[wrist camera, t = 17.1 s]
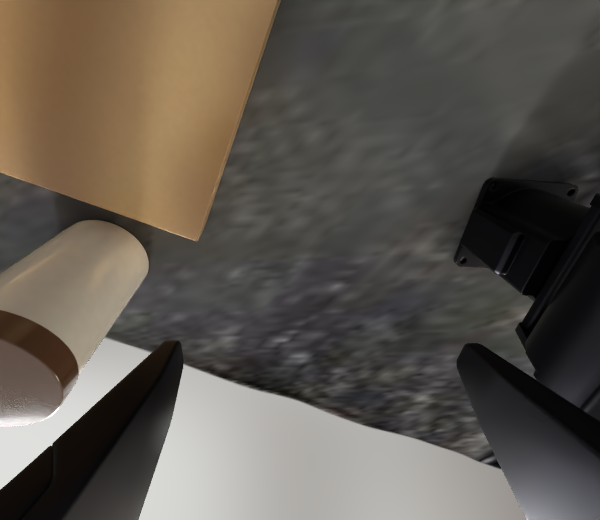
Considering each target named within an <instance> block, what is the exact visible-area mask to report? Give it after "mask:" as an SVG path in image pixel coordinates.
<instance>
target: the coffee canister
mask: <svg viewBox="0 0 600 520" xmlns="http://www.w3.org/2000/svg"><path fill="white" fill-rule="evenodd" d="M148 269H149V261H148V257H147V254H146V251H145V249H144V248H143V246H142V245H141V243H140V242H139V241H138V240H137V239H136V238H135V237H134V236H133V235H132V234H131V233H129V232H128V231H127V230H125V229H123V228H121V227H120V226H117V225H115V224H112V223H109V222H105V221H100V220H85V221H80V222H77V223H75V224H73V225H71V226H69V227H68V228H66V229H65V230H63V231H62V232H60V233H59V234H57V235H56V236H54V237H53V238H51V239H50V240H48V241H47V242H45V243H44V244H42V245H41V246H39V247H38V248H36V249H35V250H34V251H32V252H31V253H29V254H28V255H26V256H25V257H23V258H22V259H20V260H19V261H17V262H16V263H14V264H13V265H11V266H10V267H8V268H7V269H5V270H4V271H2V272H1V273H0V426H5V427H9V426H23V425H29V424H33V423H37V422H40V421H42V420H45V419H47V418H48V417H50V416H51V415H53V414H54V413H55V412H56V411H57V410H58V409H59V408H60V406H61V405H62V403H63V402H64V400H65V399H66V397H67V396H68V394H69V393H70V391H71V390H72V388H73V387H74V385H75V384H76V382H77V380H78V376H79V374H80V373H81V371H82V369H83V368H84V367H85V365H86V364H87V362H88V361H89V359H90V358H91V356H92V355H93V354H94V352H95V351H96V349H97V348H98V346H99V345H100V343H101V342H102V340H103V339H104V338H105V336H106V335H107V333H108V332H109V330H110V329H111V327H112V326H113V324H114V323H115V321H116V320H117V319H118V317H119V316H120V314H121V313H122V311H123V310H124V308H125V307H126V305H127V304H128V302H129V301H130V300H131V298H132V297H133V295H134V294H135V292H136V291H137V289H138V288H139V286H140V285H141V283H142V282H143V281H144V279H145V278H146V276H147V273H148Z"/></svg>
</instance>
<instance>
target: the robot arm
mask: <svg viewBox="0 0 600 520" xmlns="http://www.w3.org/2000/svg"><path fill="white" fill-rule="evenodd" d="M492 184H494V186H493V188H491V189H490V187H491V185H492ZM568 191H569V192H568ZM578 191H579V188H578V186H576V185H573V184H570V183H559V182H546V181H532V180H519V179H506V178H489V179H487V180H486V181H485V183H484V184H483V187H482V189H481V192H480V194H479V197H478V199H477V202H476V204H475V207H474V209H473V211H472V214H471V216H470V219H469V221H468V224H467V226H466V229H465V231H464V234H463V236H462V239H461V241H460V245H459V247H458V250H457V252H456V255H455V257H454V262H455V263H456V264H457V265H458V266H460V267H482V268H489V269H490V270H492V271H493V272H494V273H495V274H498V275H500V276H501V277H502V278H503V279H504V280H506V281H507V282H508V283H509V284H510V285H512V286H513V287H514V288H515V289H516V290H518V291H519V292H520V293H521V294H522V295H527V296H528V297H529V298H531V299H532V300H533V301H534V303H533V305H532V306H531V308H530V310H529V311H528V313H527V315H526V316H525V318H524V320H523V321H522V322H520V323H519V324H518V326H517V328H516V329H515V331H516V333H517V335H518V337H519V339H520V340H521V342H522V344H523V346H524V348H525V350H526V354H527V356H528V358H529V359H530V361H531V363H532V365H533V366H534V368H535V372H534V376H535V378H536V379H537V380H535V379H534V378H532V377H531V376H529V375H527V374H526V373H524V372H523V371H521V370H520V369H518V368H517V367H515V366H514V365H512V364H510V363H509V362H507V361H506V360H504V359H503V358H501V357H500V356H498V355H497V354H495V353H493V352H492V351H490V350H489V349H487V348H486V347H484V346H483V345H481V344H478V343H467V344H465V345H464V347H463V349H462V351H461V353H460V355H459V357H458V359H457V369H458V371H459V374H460V377H461V379H462V382H463V385H464V387H465V390H466V393H467V395H468V398H469V400H470V403H471V406H472V408H473V411H474V413H475V415H476V417H477V420H478V422H479V424H480V426H481V428H482V430H483V432H484V434H485V436H486V438H487V440H488V442H489V444H490V446H491V448H492V450H493V452H494V454H495V456H496V458H497V460H498V463H499V465H500V467H501V469H502V471H503V472H504V475H505V477H506V479H507V481H508V483H509V485H510V487H511V489H512V491H513V493H514V495H515V497H516V499H517V501H518V503H519V505H520V507H521V509H522V511H523V514H524V516H525V517H526V520H600V193H596V195H595V196H594V198H593V200H592V201H591V203H590V205H592V206H591V208H588V207H585V206H583V205H580V204H577V203H575V202H573V200H574V198H575V197H576V195H577V193H578ZM567 192H568V193H567ZM462 258H464V259H463V260H462V261H460V260H461V259H462ZM182 369H183V354H182V347H181V343H180V341H165V342H163V343H162V344H161V345H160V346H159V347H158V348H156V349H155V350H154V351H153V352H152V353H151V354H150V355H149V356H148V357H147V358H146V359H144V360H143V361H142V362H141V363H140V364H139V365H138V366H137V367H136V368H135V369H133V370H132V371H131V372H130V373H129V374H128V375H127V376H126V377H125V378H124V379H123V380H121V381H120V382H119V383H118V384H117V385H116V386H115V387H114V388H113V389H112V390H111V391H109V392H108V393H107V394H106V395H105V396H104V397H103V398H102V399H101V400H100V401H98V402H97V403H96V404H95V405H94V406H93V407H92V408H91V409H90V410H89V411H88V412H87V413H85V414H84V415H83V416H82V417H81V418H80V419H79V420H78V421H77V422H75V423H74V424H73V425H72V426H71V427H70V428H69V429H68V430H67V431H66V432H65V433H63V434H62V435H61V436H60V437H59V438H58V439H57V440H56V441H55V442H54V443H53V445H52V446H50V447H48V448H47V449H46V450H45V451H44V452H43V453H42V454H40V455H39V456H38V457H37V458H36V459H35V460H34V461H33V462H32V463H30V464H29V465H28V466H27V467H26V468H25V469H24V470H23V471H21V472H20V473H19V474H18V475H17V476H16V477H15V478H13V479H12V480H11V481H10V482H9V483H8V484H7V485H5V486H4V487H3V488H2V489H1V490H0V520H138V519H139V516H140V513H141V510H142V507H143V504H144V501H145V498H146V495H147V492H148V489H149V486H150V483H151V480H152V477H153V474H154V471H155V468H156V465H157V462H158V459H159V456H160V453H161V450H162V447H163V444H164V441H165V438H166V435H167V432H168V429H169V426H170V423H171V419H172V416H173V411H174V406H175V402H176V397H177V393H178V388H179V384H180V379H181V374H182Z"/></svg>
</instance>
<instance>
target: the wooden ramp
mask: <svg viewBox="0 0 600 520" xmlns="http://www.w3.org/2000/svg"><path fill="white" fill-rule="evenodd" d="M280 2H281V0H0V172H1V173H4V174H7V175H10V176H13V177H15V178H18V179H21V180H24V181H27V182H30V183H32V184H35V185H38V186H41V187H44V188H47V189H50V190H52V191H55V192H58V193H61V194H64V195H67V196H69V197H72V198H75V199H78V200H81V201H84V202H86V203H89V204H92V205H95V206H98V207H101V208H103V209H106V210H109V211H112V212H115V213H118V214H121V215H123V216H126V217H129V218H132V219H135V220H138V221H140V222H143V223H146V224H149V225H152V226H155V227H157V228H160V229H163V230H166V231H169V232H172V233H174V234H177V235H180V236H183V237H186V238H189V239H192V240H194V241H198V239H199V237H200V235H201V233H202V231H203V229H204V227H205V224H206V221H207V218H208V215H209V212H210V209H211V206H212V203H213V200H214V197H215V194H216V191H217V188H218V185H219V183H220V180H221V177H222V174H223V171H224V168H225V165H226V162H227V159H228V156H229V153H230V150H231V147H232V144H233V141H234V138H235V135H236V132H237V129H238V126H239V123H240V120H241V117H242V114H243V111H244V108H245V105H246V102H247V99H248V97H249V94H250V91H251V88H252V85H253V82H254V79H255V76H256V73H257V70H258V67H259V64H260V61H261V58H262V55H263V52H264V49H265V46H266V43H267V40H268V37H269V34H270V31H271V28H272V25H273V22H274V19H275V16H276V13H277V10H278V8H279V5H280Z"/></svg>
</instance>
